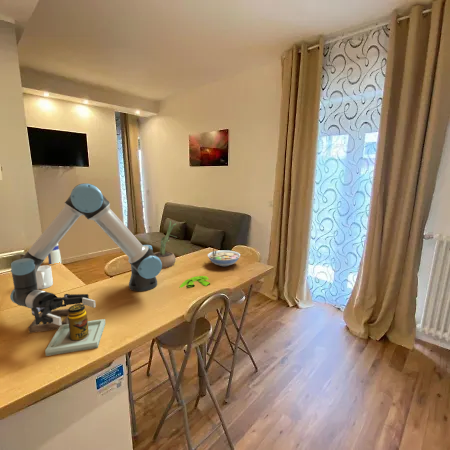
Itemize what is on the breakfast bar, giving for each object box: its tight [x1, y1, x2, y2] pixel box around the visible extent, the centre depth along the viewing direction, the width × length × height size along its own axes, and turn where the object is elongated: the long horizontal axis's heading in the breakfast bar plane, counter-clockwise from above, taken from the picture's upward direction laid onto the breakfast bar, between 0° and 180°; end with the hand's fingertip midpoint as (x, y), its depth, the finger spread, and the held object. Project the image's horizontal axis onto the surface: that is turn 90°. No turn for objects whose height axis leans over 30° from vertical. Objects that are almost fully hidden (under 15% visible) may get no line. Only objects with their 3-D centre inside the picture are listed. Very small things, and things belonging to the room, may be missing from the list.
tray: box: [44, 318, 106, 357], centre depth 97 cm, size 16×16×2 cm
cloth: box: [179, 275, 211, 289], centre depth 147 cm, size 20×22×2 cm
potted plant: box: [153, 220, 181, 269], centre depth 179 cm, size 22×18×30 cm
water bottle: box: [47, 243, 62, 265], centre depth 181 cm, size 8×9×25 cm
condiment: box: [61, 303, 92, 344], centre depth 95 cm, size 7×8×12 cm
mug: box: [36, 264, 54, 290], centre depth 142 cm, size 9×12×11 cm
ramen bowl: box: [207, 248, 241, 267], centre depth 179 cm, size 25×23×8 cm
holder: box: [27, 308, 69, 334], centre depth 107 cm, size 13×12×2 cm
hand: (78, 312), depth 94 cm, fingers open, 13 cm apart
